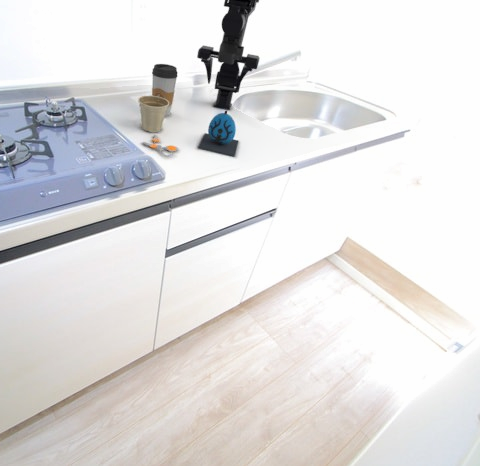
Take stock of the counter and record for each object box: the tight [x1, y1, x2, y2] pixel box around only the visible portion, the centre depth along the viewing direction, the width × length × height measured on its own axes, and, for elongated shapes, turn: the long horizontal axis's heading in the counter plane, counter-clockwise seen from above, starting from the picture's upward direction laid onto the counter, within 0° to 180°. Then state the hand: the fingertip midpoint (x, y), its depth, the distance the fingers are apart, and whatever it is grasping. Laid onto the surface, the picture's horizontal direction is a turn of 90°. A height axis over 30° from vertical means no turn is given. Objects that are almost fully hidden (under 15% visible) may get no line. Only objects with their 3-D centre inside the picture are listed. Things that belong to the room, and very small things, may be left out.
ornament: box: [207, 110, 236, 144], centre depth 97 cm, size 8×5×10 cm, turn 66°
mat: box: [197, 132, 239, 157], centre depth 100 cm, size 11×11×1 cm
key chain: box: [142, 134, 178, 157], centre depth 95 cm, size 13×7×1 cm, turn 39°
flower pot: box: [137, 95, 169, 133], centre depth 101 cm, size 9×9×9 cm
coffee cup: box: [151, 63, 178, 118], centre depth 110 cm, size 8×8×15 cm
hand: (222, 86), depth 107 cm, fingers open, 9 cm apart
